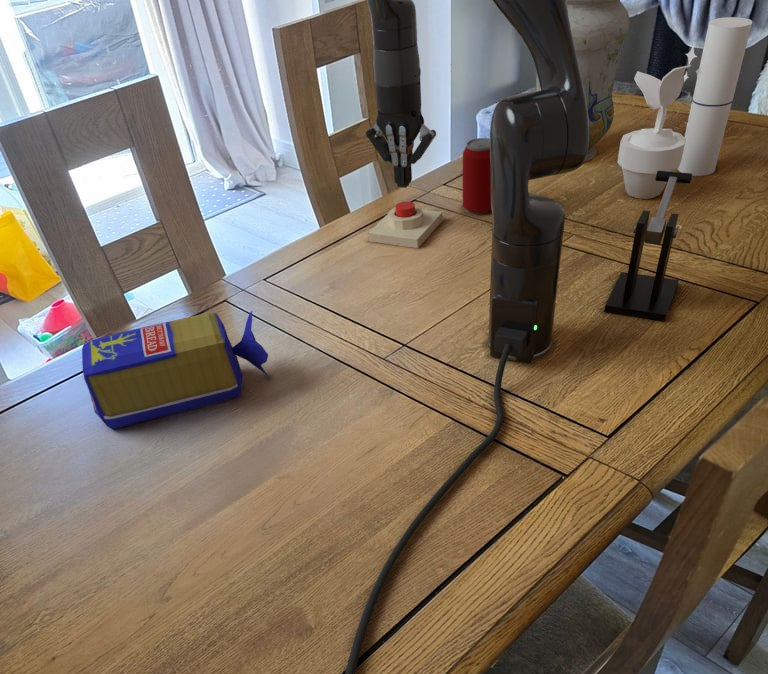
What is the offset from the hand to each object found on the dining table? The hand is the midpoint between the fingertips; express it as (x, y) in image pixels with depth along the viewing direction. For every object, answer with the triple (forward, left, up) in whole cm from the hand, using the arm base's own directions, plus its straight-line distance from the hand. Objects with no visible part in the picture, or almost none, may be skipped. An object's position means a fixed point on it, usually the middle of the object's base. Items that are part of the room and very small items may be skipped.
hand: (403, 185), depth 126 cm
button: (0, 0, -5) cm, 5 cm away
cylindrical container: (+42, -46, -9) cm, 63 cm away
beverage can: (+13, -10, -9) cm, 19 cm away
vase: (+44, -19, -9) cm, 49 cm away
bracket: (-12, -46, -9) cm, 48 cm away
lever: (-7, -46, +3) cm, 47 cm away
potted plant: (+28, -38, -9) cm, 48 cm away
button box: (0, 0, -9) cm, 9 cm away
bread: (-58, +9, -9) cm, 59 cm away
